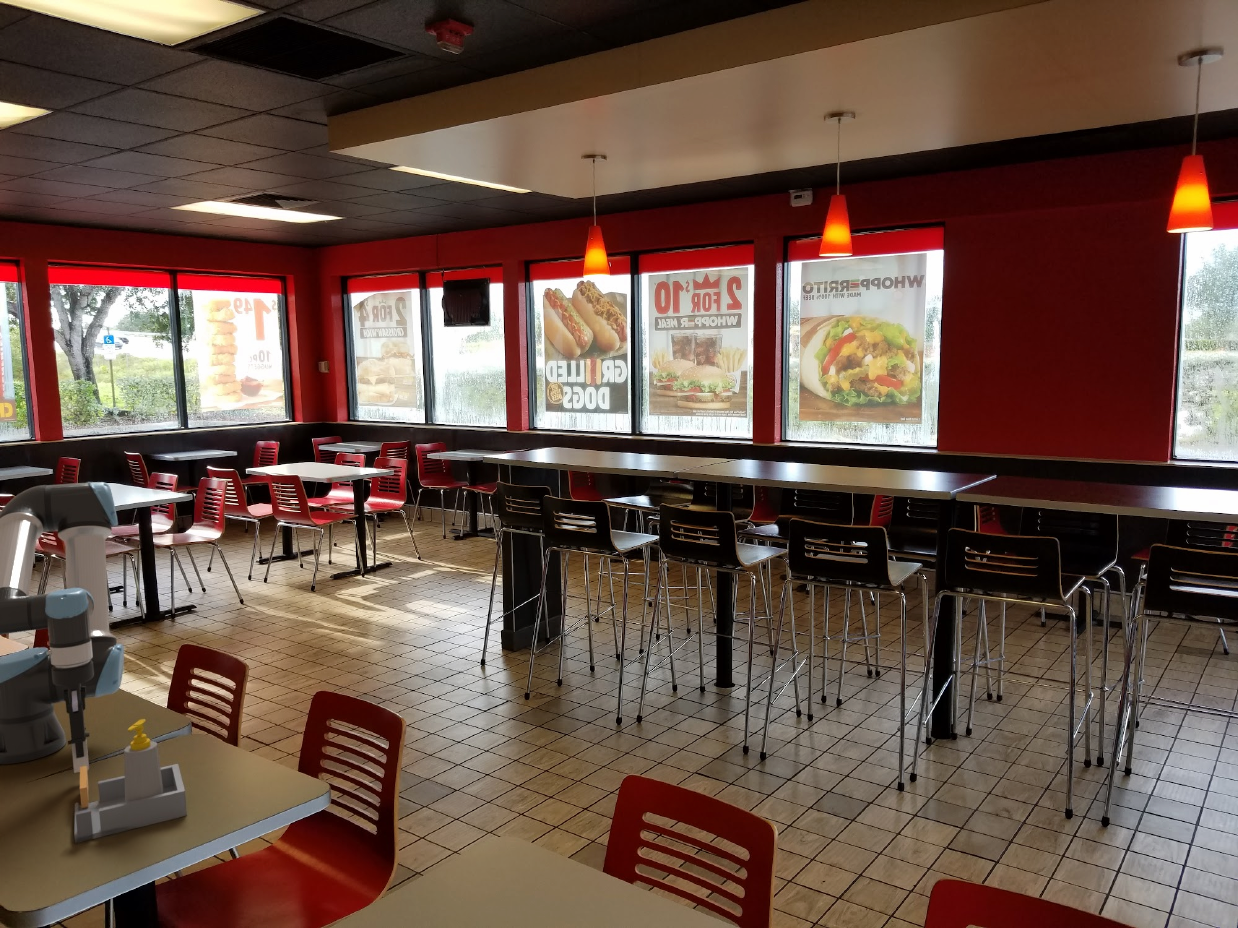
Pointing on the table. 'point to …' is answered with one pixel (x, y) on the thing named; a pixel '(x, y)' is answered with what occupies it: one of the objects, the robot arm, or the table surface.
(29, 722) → the robot arm
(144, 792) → the soap bottle
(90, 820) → the box
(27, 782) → the table surface
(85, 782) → the orange long flat block
